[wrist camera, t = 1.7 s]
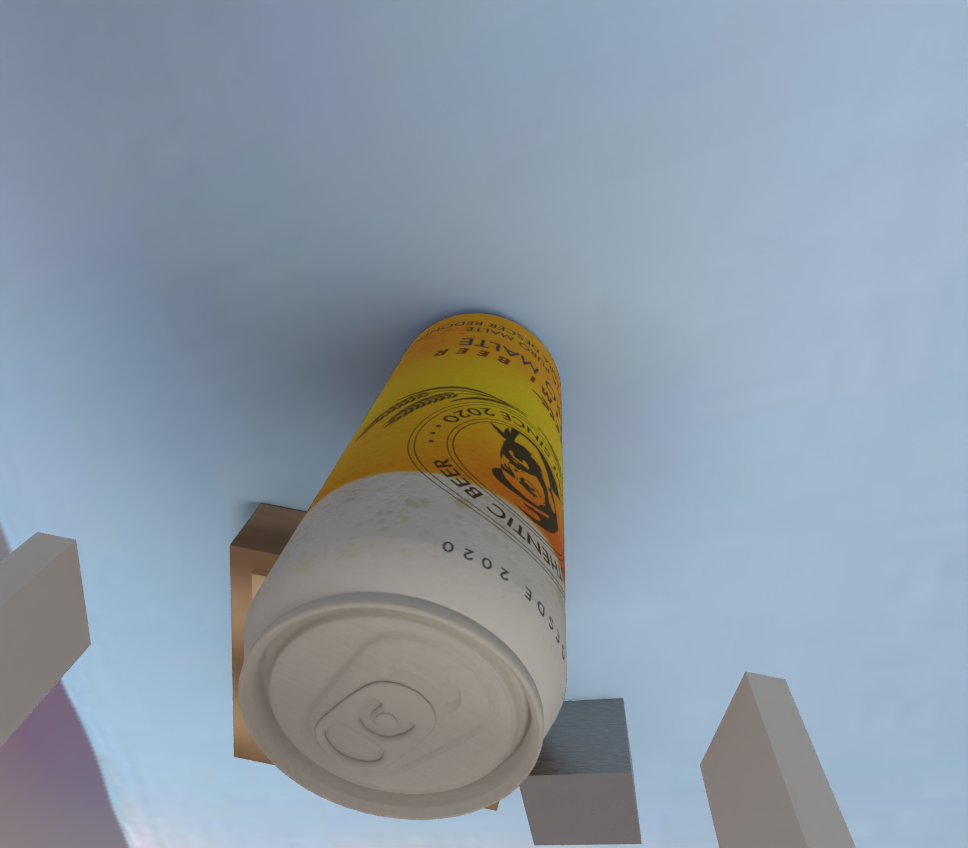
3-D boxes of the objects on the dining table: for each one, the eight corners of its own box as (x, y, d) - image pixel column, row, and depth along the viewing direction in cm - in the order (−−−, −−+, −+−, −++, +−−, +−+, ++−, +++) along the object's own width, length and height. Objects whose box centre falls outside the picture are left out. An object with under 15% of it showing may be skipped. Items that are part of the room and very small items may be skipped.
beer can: (595, 381, 24) (645, 734, 10) (487, 481, 26) (416, 872, 13) (472, 271, 22) (348, 512, 9) (371, 387, 25) (153, 714, 11)
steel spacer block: (521, 701, 32) (516, 776, 28) (622, 696, 31) (631, 772, 27) (536, 767, 34) (534, 845, 30) (632, 764, 33) (641, 843, 29)
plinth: (261, 502, 28) (226, 549, 25) (554, 561, 28) (554, 614, 25) (259, 705, 34) (231, 761, 31) (501, 754, 33) (496, 815, 31)
